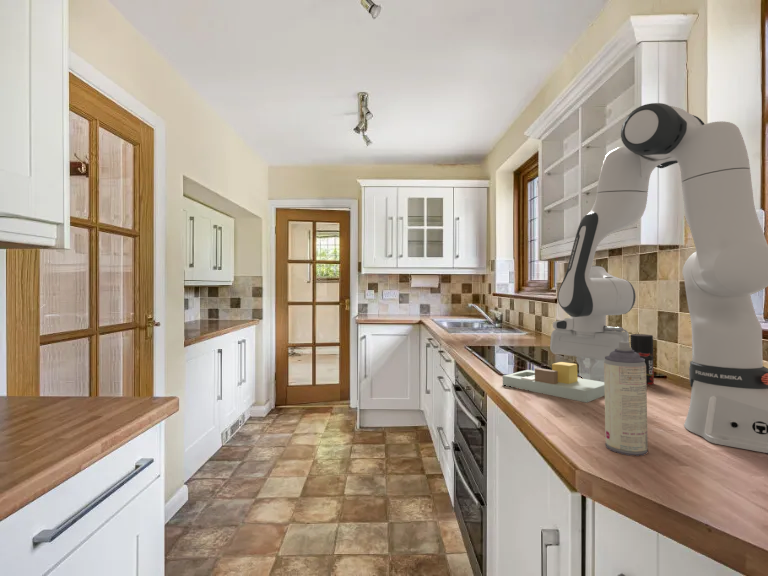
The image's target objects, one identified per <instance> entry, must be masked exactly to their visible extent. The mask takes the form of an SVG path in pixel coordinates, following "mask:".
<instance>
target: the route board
mask: <svg viewBox="0 0 768 576" xmlns="http://www.w3.org/2000/svg"><path fill="white" fill-rule="evenodd" d="M577 378H578V381H577V382H574V383H570V384H566V383H561V382H558V371H554V370H552V369H548V368H547V369H546V368H539V367H538V368H534V370H531V369H525V370H521V371H517V372H514V373H507V374H505V375H502V386H504V385H507V386H506V387H509V386H511V387H510V388H513V387H516V388H515V389H518V388H520V389H519V390H523V389H525V390H524V391H528V390H529V391H528V392H533V393H537V394H542V393H543V394H544V395H548V396H551V397H552V396H553V397H557V398H562V399H568V400H573V401H578V402H582V403H587V404H588V403H589V402H591V401H592V402H593V401H594V400H597V399H600V398H602V397H605V387H604V382H601V381H594V380H588V379H582V378H580V377H577Z"/></svg>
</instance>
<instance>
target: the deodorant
mask: <svg viewBox="0 0 768 576" xmlns="http://www.w3.org/2000/svg"><path fill="white" fill-rule="evenodd" d="M653 337H654V335H653V334H644V333H641V334H639V333H635V334H630V348H632V350H634V352H636V353H638V354H639V356H640V358H643V359H645V361H644V362H645V364H646V386H652V384H653V385H655V383H654V382H655V381H654V380H655V375H654V372H655V371H654V338H653Z"/></svg>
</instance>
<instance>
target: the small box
mask: <svg viewBox="0 0 768 576" xmlns="http://www.w3.org/2000/svg"><path fill="white" fill-rule="evenodd" d="M583 362H584V364H585V366H586V367H590V366H591V364H592V363H590V359H589V358H585V360H584V361H583ZM578 372H579V373H578V375H579V376H581V377H582V378H583V379H588V380H594V381H601V382H604V361H603V360H598V364H597V365H596V367H595V368H594V374H593V375H588V374H582V373H580V366H579V365H578ZM579 376H578V377H579Z"/></svg>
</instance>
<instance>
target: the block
mask: <svg viewBox="0 0 768 576" xmlns="http://www.w3.org/2000/svg"><path fill="white" fill-rule="evenodd" d="M551 370H554V371H558V382H561V383H566V384H570V383H574V382H577V381H578V378H579V377H578V363H572V362H564V361H558V362H555V363H552V364H551Z"/></svg>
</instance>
